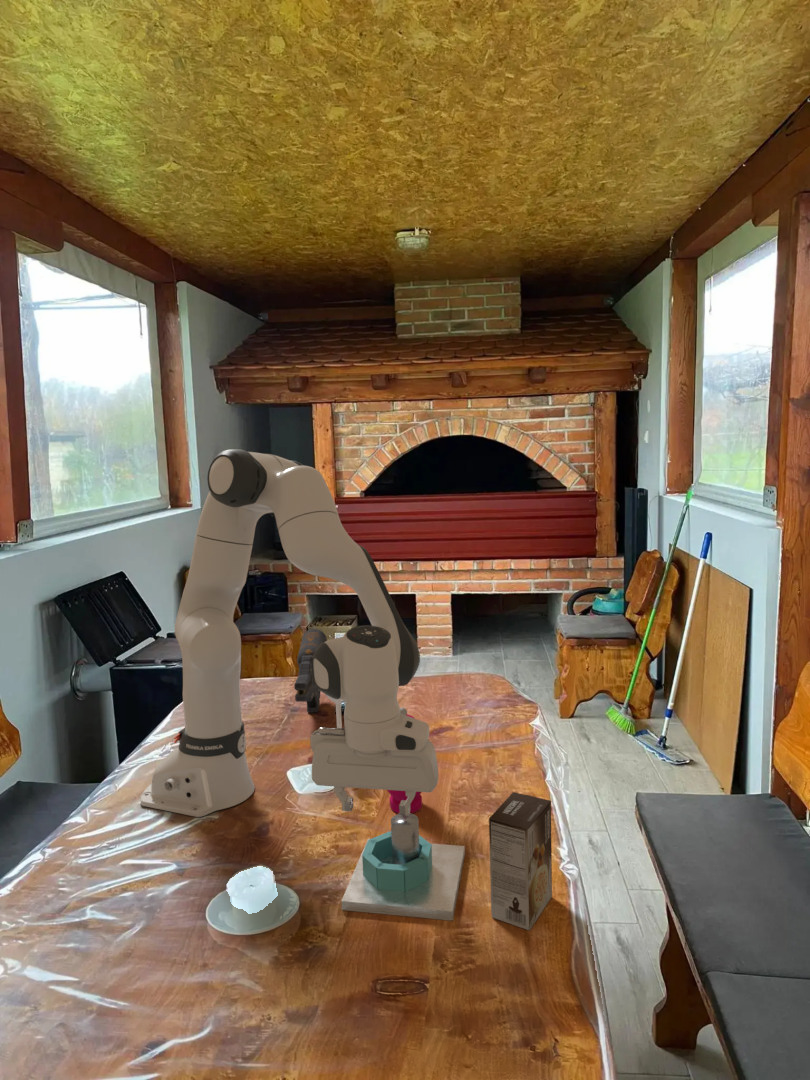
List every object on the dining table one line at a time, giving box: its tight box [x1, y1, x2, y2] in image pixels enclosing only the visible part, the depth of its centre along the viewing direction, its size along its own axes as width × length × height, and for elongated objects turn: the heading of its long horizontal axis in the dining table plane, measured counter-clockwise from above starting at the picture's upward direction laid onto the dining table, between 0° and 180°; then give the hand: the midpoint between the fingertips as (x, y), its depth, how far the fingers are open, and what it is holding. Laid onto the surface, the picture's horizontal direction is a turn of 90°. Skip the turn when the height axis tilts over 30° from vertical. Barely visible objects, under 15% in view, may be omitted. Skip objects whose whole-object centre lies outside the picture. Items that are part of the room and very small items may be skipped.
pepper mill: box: [387, 707, 423, 814], centre depth 136 cm, size 7×7×20 cm
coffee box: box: [488, 791, 553, 931], centre depth 106 cm, size 9×6×16 cm
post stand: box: [340, 813, 466, 921], centre depth 114 cm, size 17×17×10 cm
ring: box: [361, 830, 432, 891], centre depth 115 cm, size 11×11×4 cm
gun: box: [294, 628, 328, 714], centre depth 184 cm, size 7×28×20 cm, turn 179°
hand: (376, 811), depth 114 cm, fingers open, 8 cm apart
